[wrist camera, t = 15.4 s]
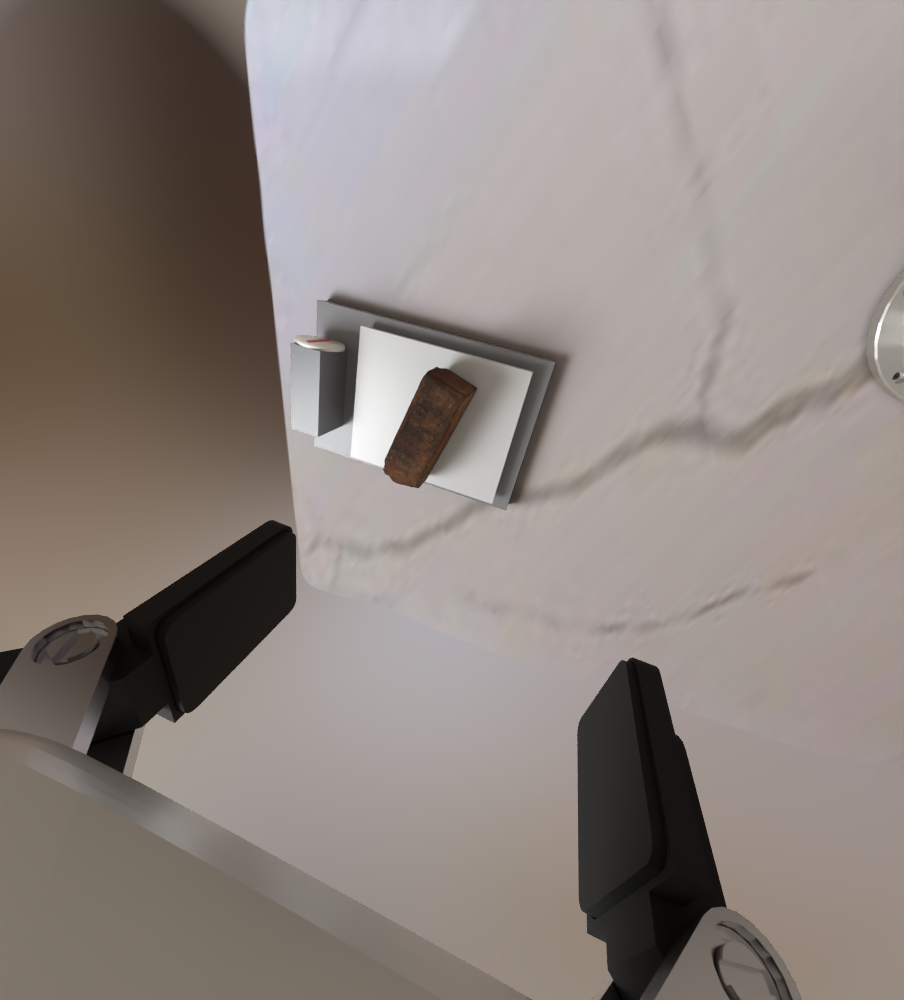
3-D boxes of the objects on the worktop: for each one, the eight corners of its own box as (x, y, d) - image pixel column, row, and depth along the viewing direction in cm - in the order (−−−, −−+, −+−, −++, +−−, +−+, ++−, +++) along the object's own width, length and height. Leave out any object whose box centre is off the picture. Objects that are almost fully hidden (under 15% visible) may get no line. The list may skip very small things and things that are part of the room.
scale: (555, 361, 32) (552, 368, 27) (508, 504, 39) (498, 531, 34) (324, 300, 36) (282, 296, 31) (320, 441, 43) (285, 458, 38)
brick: (442, 363, 32) (423, 369, 28) (480, 387, 32) (466, 397, 28) (396, 457, 38) (375, 474, 33) (428, 478, 37) (411, 497, 33)
